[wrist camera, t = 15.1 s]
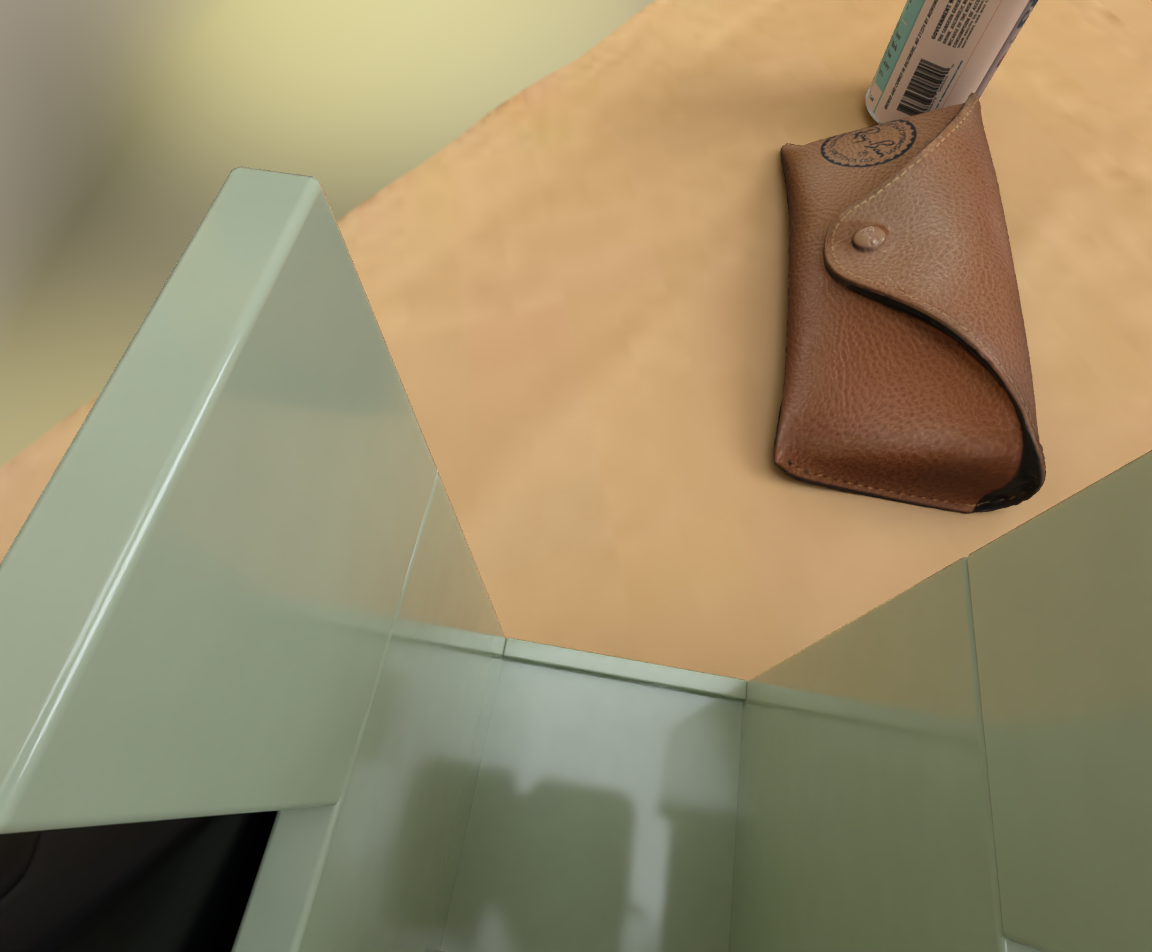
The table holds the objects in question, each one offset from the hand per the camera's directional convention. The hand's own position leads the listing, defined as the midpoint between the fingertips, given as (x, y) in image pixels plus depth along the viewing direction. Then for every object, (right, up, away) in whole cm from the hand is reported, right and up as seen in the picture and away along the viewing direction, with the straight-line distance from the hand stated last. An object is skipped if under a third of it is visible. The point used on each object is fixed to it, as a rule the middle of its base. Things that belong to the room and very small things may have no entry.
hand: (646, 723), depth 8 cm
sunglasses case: (+11, +10, +19) cm, 24 cm away
